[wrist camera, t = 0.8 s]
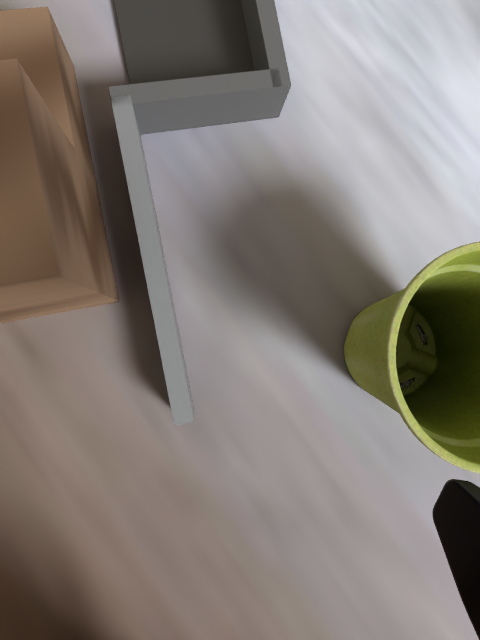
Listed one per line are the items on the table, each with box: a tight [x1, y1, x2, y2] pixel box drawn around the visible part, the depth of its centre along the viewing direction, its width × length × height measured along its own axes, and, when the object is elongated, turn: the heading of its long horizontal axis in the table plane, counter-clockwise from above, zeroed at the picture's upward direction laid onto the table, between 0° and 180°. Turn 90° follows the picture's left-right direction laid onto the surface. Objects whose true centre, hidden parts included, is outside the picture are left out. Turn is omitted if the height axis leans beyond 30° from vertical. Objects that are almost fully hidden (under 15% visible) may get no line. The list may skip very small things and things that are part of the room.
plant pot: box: [344, 242, 480, 473], centre depth 19 cm, size 9×9×9 cm
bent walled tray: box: [109, 0, 291, 426], centre depth 20 cm, size 36×30×3 cm
